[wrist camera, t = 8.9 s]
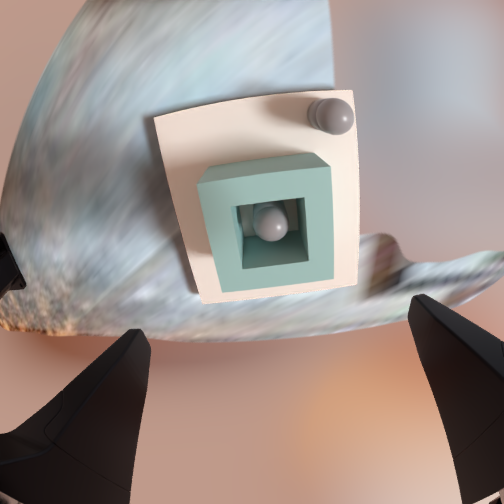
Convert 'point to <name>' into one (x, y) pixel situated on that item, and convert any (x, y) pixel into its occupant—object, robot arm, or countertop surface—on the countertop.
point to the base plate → (256, 147)
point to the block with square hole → (253, 247)
